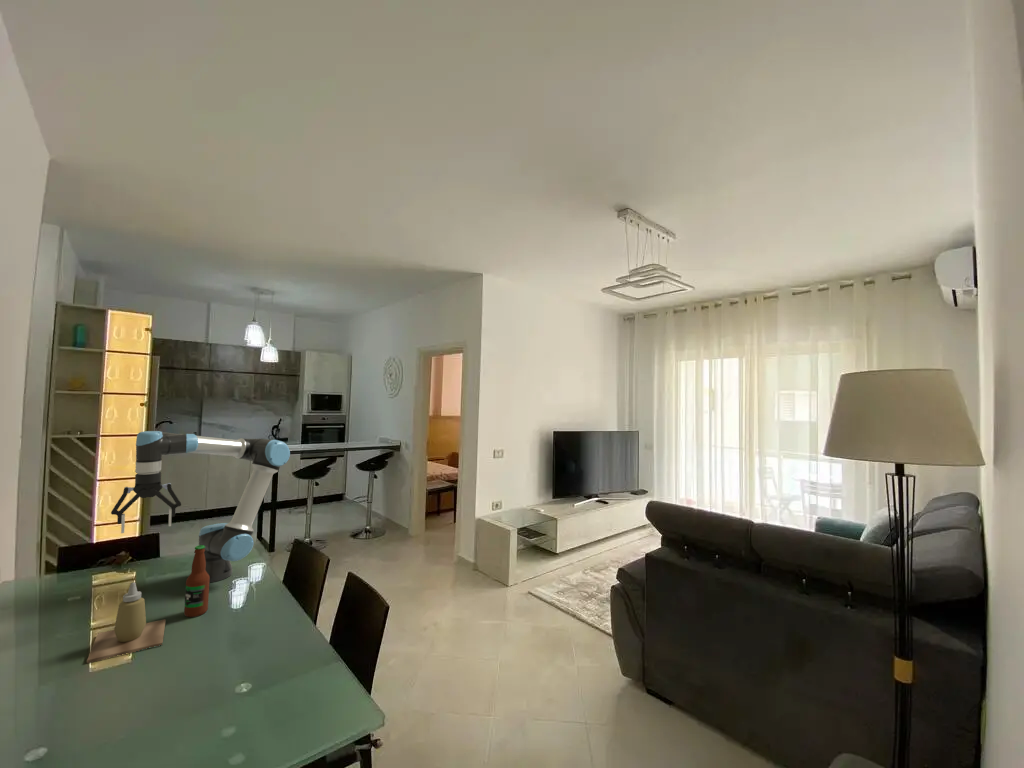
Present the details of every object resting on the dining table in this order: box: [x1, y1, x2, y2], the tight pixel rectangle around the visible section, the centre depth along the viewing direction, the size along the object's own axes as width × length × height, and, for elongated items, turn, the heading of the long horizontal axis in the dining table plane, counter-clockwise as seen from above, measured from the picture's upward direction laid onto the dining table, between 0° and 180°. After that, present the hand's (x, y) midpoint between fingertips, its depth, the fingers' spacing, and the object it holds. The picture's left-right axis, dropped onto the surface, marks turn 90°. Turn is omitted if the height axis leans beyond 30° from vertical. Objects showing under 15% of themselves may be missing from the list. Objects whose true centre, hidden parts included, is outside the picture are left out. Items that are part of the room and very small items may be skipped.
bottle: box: [183, 544, 210, 618], centre depth 165 cm, size 7×7×25 cm
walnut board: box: [86, 619, 166, 664], centre depth 146 cm, size 18×18×1 cm
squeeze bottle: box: [113, 582, 147, 642], centre depth 146 cm, size 8×8×18 cm
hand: (146, 528), depth 165 cm, fingers open, 13 cm apart
